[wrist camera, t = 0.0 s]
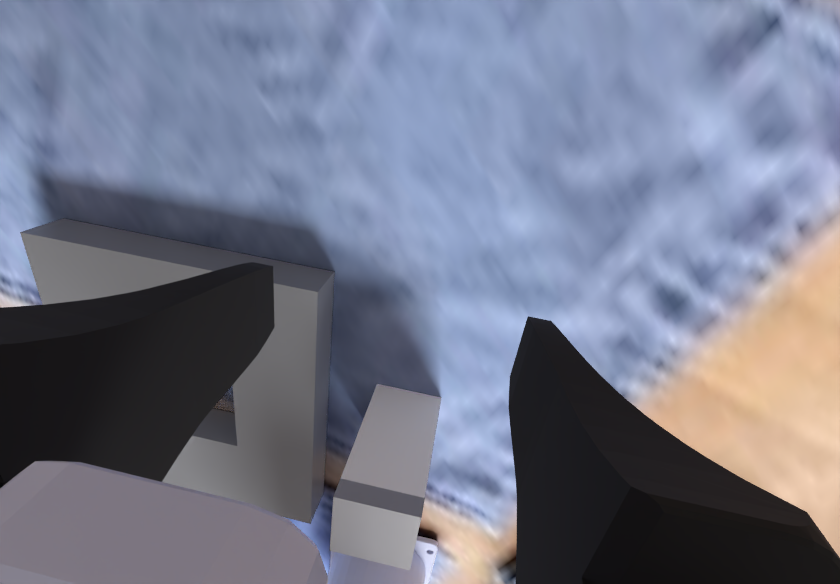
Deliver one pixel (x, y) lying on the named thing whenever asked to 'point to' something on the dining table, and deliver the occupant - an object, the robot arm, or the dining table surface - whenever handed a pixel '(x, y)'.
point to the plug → (386, 478)
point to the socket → (256, 387)
